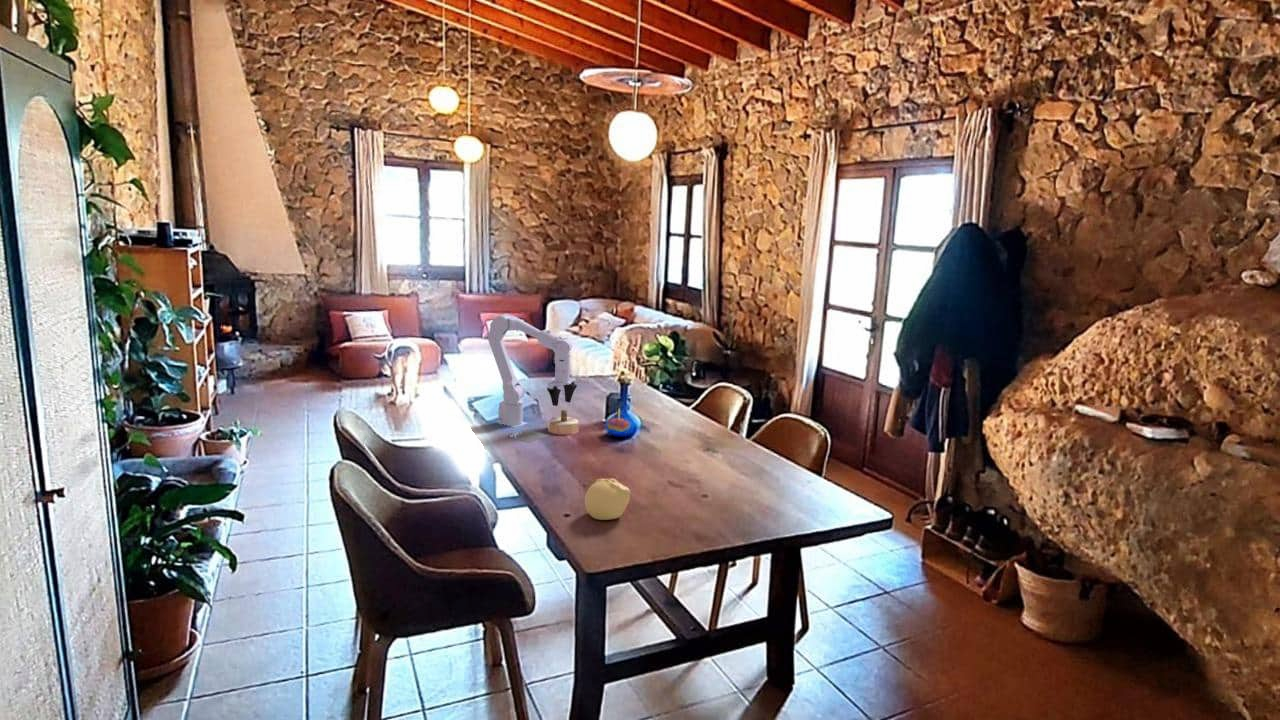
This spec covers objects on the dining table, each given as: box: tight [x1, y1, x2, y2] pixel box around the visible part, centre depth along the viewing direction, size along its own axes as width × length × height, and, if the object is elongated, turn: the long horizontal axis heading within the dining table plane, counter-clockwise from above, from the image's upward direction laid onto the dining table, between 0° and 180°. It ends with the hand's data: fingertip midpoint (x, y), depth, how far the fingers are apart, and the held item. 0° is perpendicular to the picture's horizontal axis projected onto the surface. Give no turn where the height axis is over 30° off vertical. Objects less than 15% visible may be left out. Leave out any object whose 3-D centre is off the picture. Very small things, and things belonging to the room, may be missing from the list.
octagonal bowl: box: [547, 419, 580, 435], centre depth 284 cm, size 12×12×4 cm
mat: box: [505, 428, 551, 444], centre depth 275 cm, size 12×12×1 cm
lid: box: [549, 409, 579, 426], centre depth 283 cm, size 11×11×5 cm
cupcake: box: [607, 407, 631, 432], centre depth 280 cm, size 9×8×12 cm
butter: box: [584, 477, 631, 521], centre depth 205 cm, size 11×12×11 cm
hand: (561, 403), depth 286 cm, fingers open, 7 cm apart
